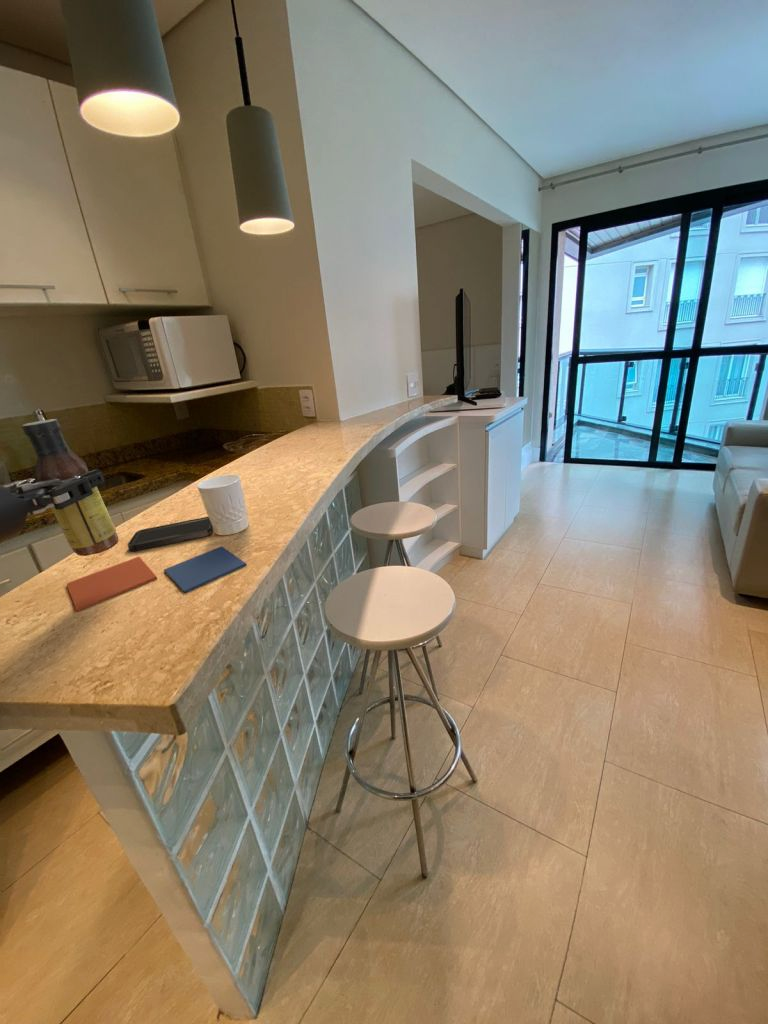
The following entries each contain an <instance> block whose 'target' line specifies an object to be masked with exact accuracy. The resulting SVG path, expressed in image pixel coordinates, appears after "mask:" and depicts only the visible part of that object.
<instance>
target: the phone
mask: <svg viewBox="0 0 768 1024" xmlns="http://www.w3.org/2000/svg"><path fill="white" fill-rule="evenodd" d="M213 532H214V529H213V526H212V524H211V521H210V520H209V517H208V516H204V517H200V518H195V519H194V518H193V519H189V520H184V521H178V522H174V523H169V524H163V525H158V526H153V527H148V528H143V529H140V530H137V531H136V532H135V533H134V535H133V536H131V539H130V540H129V542H128V543H127V548H128V550H129V552H136V551H141V550H145V549H146V550H147V549H150V548H154V547H159V546H164V545H170V544H175V543H179V542H184V541H189V540H194V539H199V538H203V537H207V536H210V535H213Z"/></svg>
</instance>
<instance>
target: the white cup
mask: <svg viewBox="0 0 768 1024" xmlns="http://www.w3.org/2000/svg"><path fill="white" fill-rule="evenodd" d="M242 484H243V483H242V479H241V476H240V475H238V474H223V475H216V476H213V477H209V478H207V479H204V480H202V481H200V482H199V483H197V484H196V487H197V491H198V493H199V495H200V498H201V501H202V504H203V507H204V510H205V512H206V515H207V517H209V520H210V521H211V524H212V526H213V532H214V534H215V535H217V536H231V535H234V534H237V533H240V532H243V531H244V530H246V529H247V528H248V527H249V526H250V521H249V517H248V516H249V515H248V508H247V503H246V498H245V497H246V496H245V493H244V489H243V485H242Z"/></svg>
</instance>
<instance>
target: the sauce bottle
mask: <svg viewBox="0 0 768 1024" xmlns="http://www.w3.org/2000/svg"><path fill="white" fill-rule="evenodd" d="M21 428H22V430H23V433H24V434H25V436H27V437H28V439H29V441H30V444H31V446H32V447H33V449H34V453H35V456H36V457H37V458H36V459H37V460H36V464H35V469H34V475H35V477H36V479H38V481H39V482H41V481H45V480H49V479H53V478H56V479H59V480H64V479H68V478H71V477H73V476H78V475H81V474H84V473H87V472H89V471H90V470H89V469H88V466H87V463H86V462H85V460H83V459H82V458H81V457H80V456H78V454H76V453H75V452H73V450H71V449H70V446H69V445H68V444H67V442H66V439H65V437H64V434H63V432H62V426H61V424H60V423H59V421H58V419H57V418H51V419H43V420H38V421H34V422H28V423H24V424H22V425H21ZM48 487H49V488H50V490H51V489H52V488H54V485H48ZM92 491H93V493H94V494H92V495H91V496H88V497H86V498H84V499H82V500H80V501H78V502H76V503H74V504H72V505H69V506H67V507H65V508H64V509H55V507H51V508H50V509H51V510H52V513H53V515H54V517H55V519H56V521H57V523H58V525H59V526H60V529H61V531H62V533H63V535H64V536H65V539H66V541H67V543H68V545H69V547H70V548H71V549H72V551H73V552H74V554H76V555H77V556H80V557H88V556H91V555H92V556H93V555H95V554H97V555H98V554H101V553H103V552H106V551H108V550H110V549H112V548H114V547H115V546H116V545H117V544H118V543H119V541H120V539H119V536H118V533H117V529H116V527H115V525H114V522H113V520H112V518H111V516H110V514H109V511H108V509H107V506H106V505H105V502H104V500H103V497H102V495H101V492H100V491H99V488H98V486H96V487H94V488H92Z"/></svg>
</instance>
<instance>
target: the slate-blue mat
mask: <svg viewBox="0 0 768 1024" xmlns="http://www.w3.org/2000/svg"><path fill="white" fill-rule="evenodd" d="M245 566H247V562H245V561H244V560H242V559H241V558H240V557H238V556H236V555H235V554H234V553H232V552H231V551H230V550H228V549H226V547H224V546H222V545H221V546H218V547H216V548H213V549H211V550H209V551H206V552H203V553H201V554H198V555H197V556H194V557H191V558H188V559H187V560H184V561H182V562H179V563H176V564H174V565H172V566H169V567H166V568H164V569H163V571H164V573H165V574H166V575H167V576H168V577H169V578H170V579H171V580H172V581H173V583H174V584H175V585H176V586H177V587H178V588H179V589H180V590H181V591H182V592H183V593H184V594H186V593H189V592H191V591H193V590H195V589H197V588H200V587H201V586H203V585H206V584H208V583H210V582H212V581H215V580H216V579H219V578H221V577H224V576H226V575H228V574H231V573H233V572H235V571H237V570H240V569H242V568H244V567H245Z"/></svg>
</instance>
